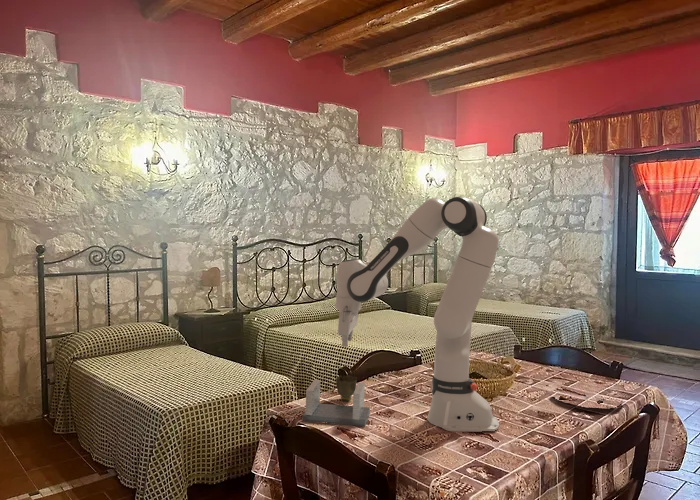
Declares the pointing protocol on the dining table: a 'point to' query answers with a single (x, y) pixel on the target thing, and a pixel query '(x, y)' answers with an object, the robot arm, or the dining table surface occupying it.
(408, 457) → the dining table surface
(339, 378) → the cup
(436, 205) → the robot arm
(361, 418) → the vise
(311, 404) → the sliding jaw
